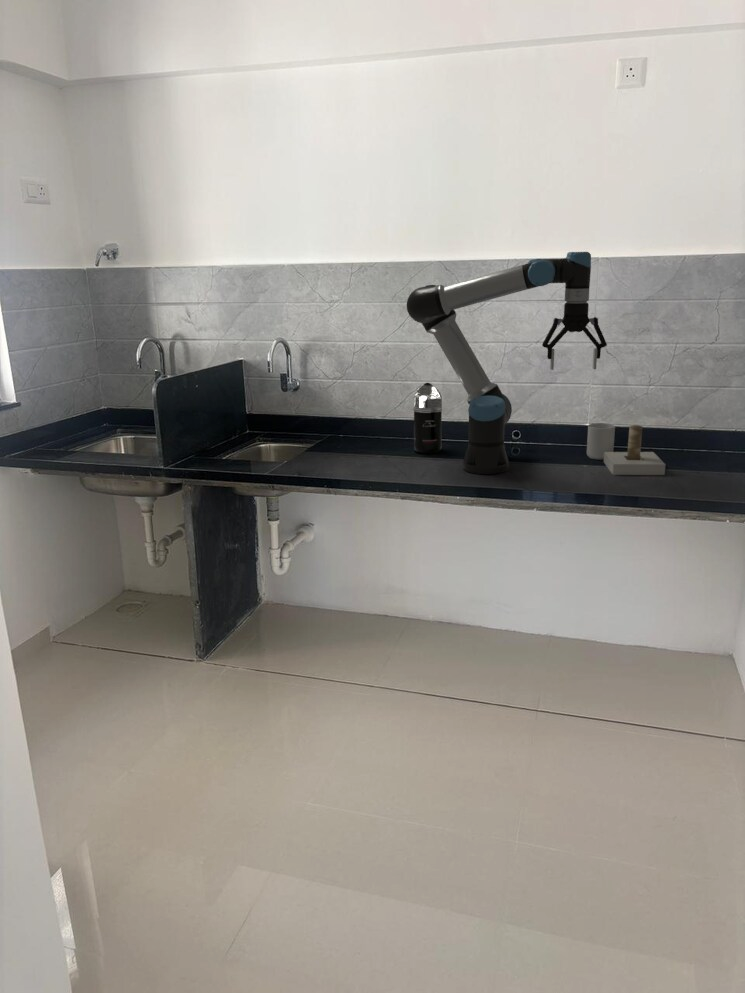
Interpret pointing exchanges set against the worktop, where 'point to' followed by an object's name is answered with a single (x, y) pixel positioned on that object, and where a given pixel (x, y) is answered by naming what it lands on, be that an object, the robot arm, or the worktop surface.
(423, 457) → the worktop surface
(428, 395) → the black silver bottle
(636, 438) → the peg
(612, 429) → the mug
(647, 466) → the socket block
